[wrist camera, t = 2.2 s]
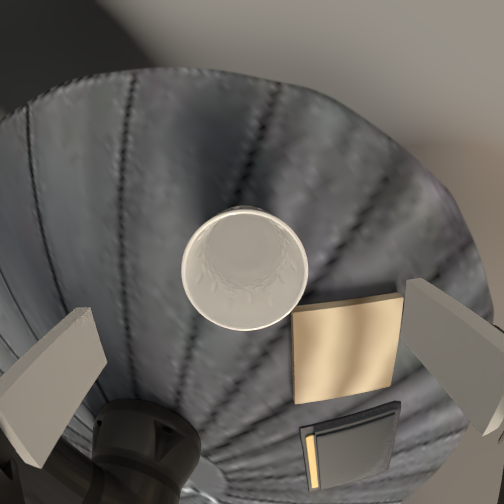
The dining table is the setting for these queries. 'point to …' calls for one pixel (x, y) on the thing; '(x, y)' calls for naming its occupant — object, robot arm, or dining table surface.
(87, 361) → the robot arm
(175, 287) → the dining table surface
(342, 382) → the oak coaster board
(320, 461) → the black book
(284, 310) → the white cup
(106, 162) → the dining table surface
